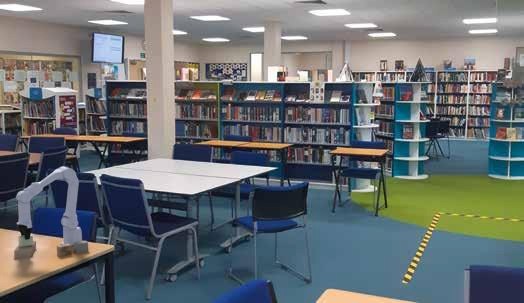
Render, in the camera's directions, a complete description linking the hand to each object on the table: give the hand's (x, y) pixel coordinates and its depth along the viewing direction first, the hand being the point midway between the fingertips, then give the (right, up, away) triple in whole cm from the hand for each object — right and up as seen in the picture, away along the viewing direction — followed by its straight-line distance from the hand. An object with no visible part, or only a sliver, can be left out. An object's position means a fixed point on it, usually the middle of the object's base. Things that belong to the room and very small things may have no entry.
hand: (25, 238), depth 274 cm
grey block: (+28, -8, +4) cm, 30 cm away
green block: (0, -4, +1) cm, 4 cm away
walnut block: (+21, -8, -1) cm, 23 cm away
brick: (0, -9, +1) cm, 9 cm away
